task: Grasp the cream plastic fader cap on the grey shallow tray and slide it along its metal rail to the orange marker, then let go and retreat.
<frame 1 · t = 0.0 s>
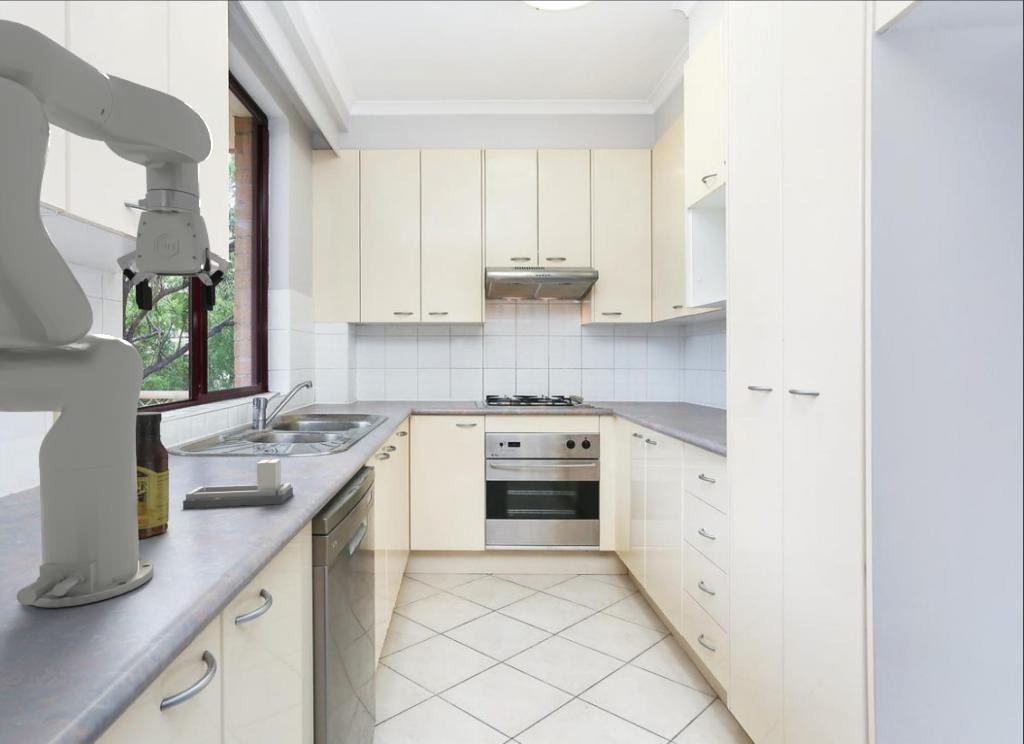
hand: (176, 310, 90), 37 cm above the table, tool pointing down, fingers open, 9 cm apart
sauce bottle: (147, 535, 88), on the table
fader cap: (269, 475, 108), point 5 cm above the table, slide at -5.5 cm
grey shallow tray: (240, 500, 108), on the table
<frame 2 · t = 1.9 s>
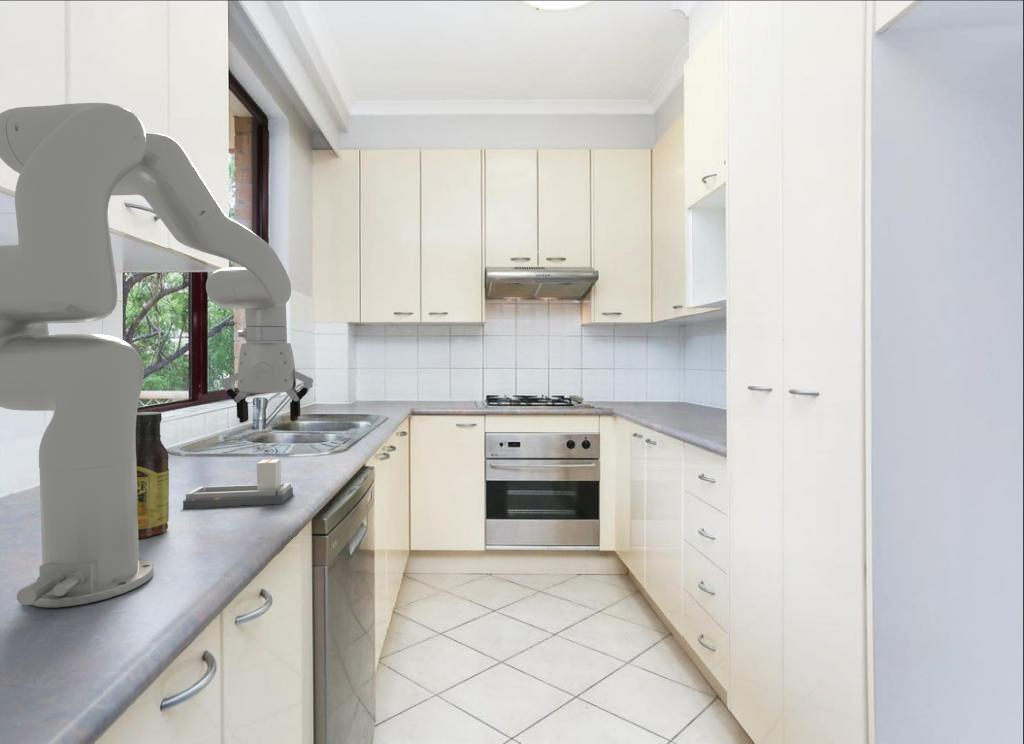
hand: (269, 421, 108), 16 cm above the table, tool pointing down, fingers open, 9 cm apart
nothing on the table moved.
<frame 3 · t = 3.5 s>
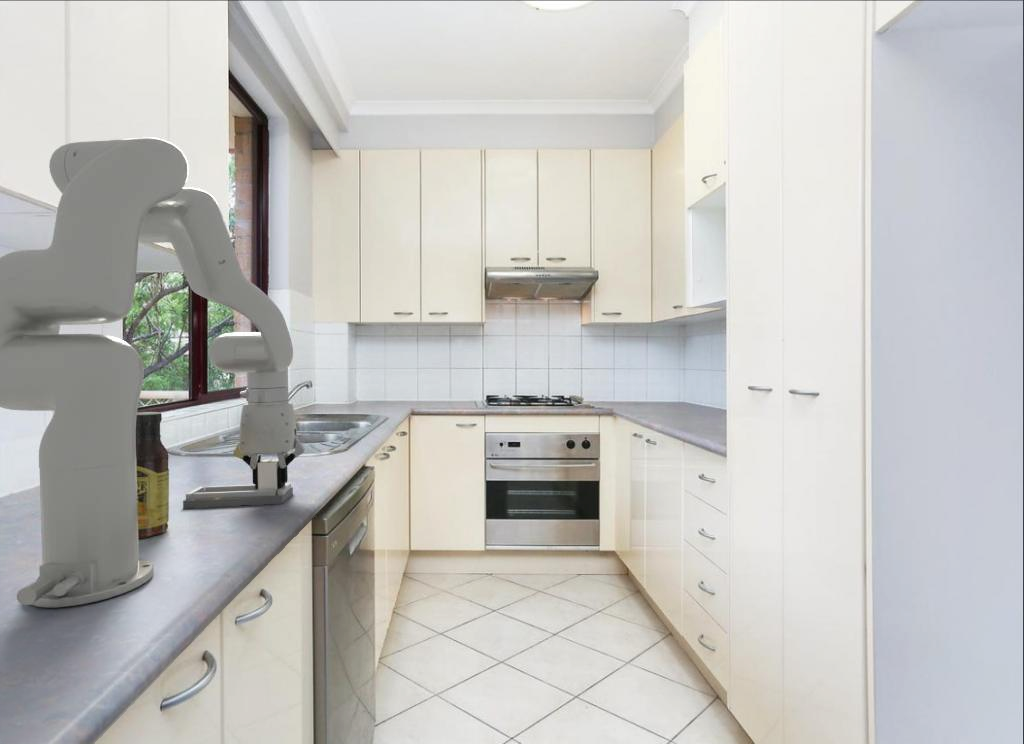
hand: (270, 486, 109), 3 cm above the table, tool pointing down, fingers closed on fader cap, 3 cm apart
fader cap: (269, 475, 108), point 5 cm above the table, slide at -5.7 cm, touching gripper
everything else where it was.
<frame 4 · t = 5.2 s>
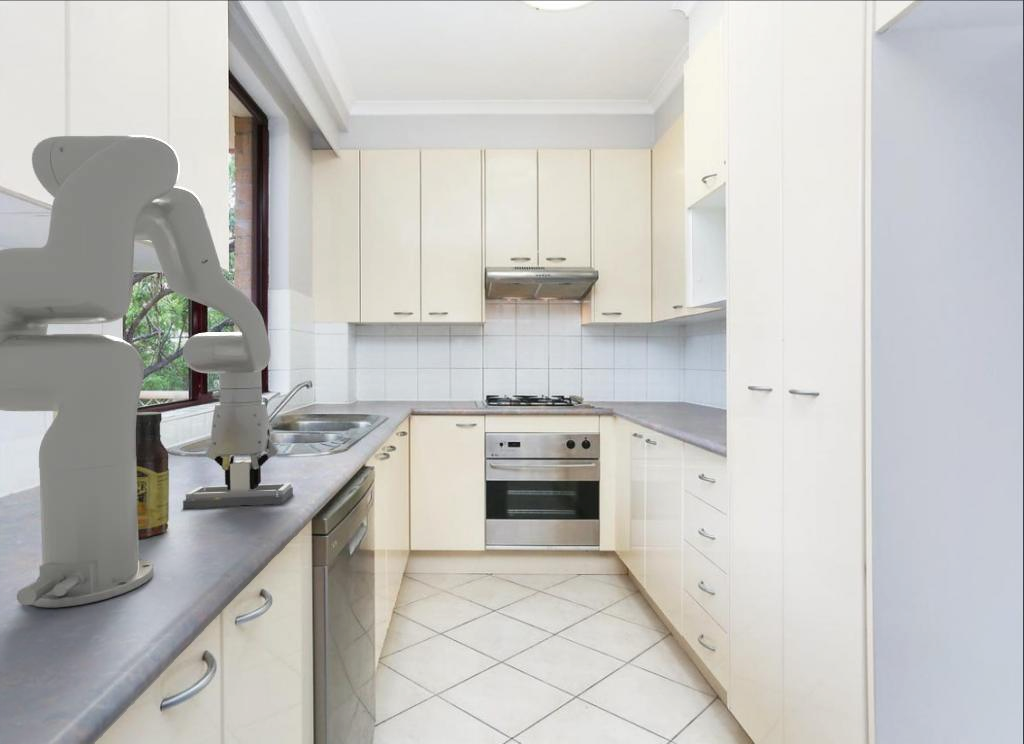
hand: (243, 487, 108), 3 cm above the table, tool pointing down, fingers closed on fader cap, 3 cm apart
fader cap: (242, 476, 108), point 5 cm above the table, slide at -0.5 cm, touching gripper
everything else where it was.
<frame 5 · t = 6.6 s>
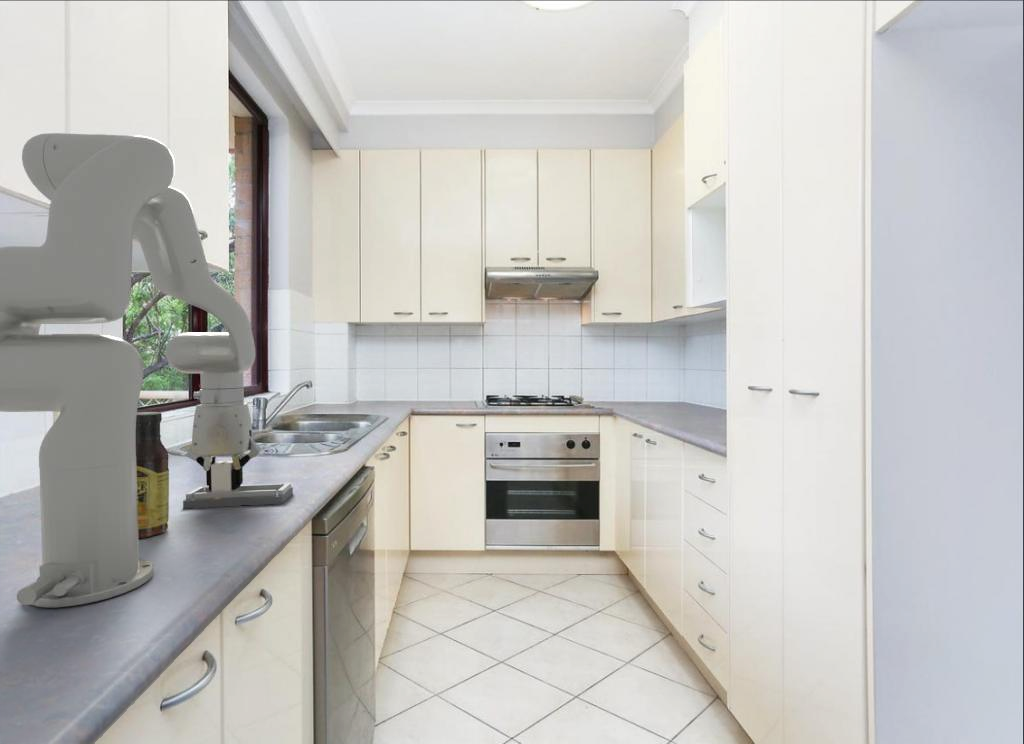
hand: (225, 487, 107), 3 cm above the table, tool pointing down, fingers closed on fader cap, 3 cm apart
fader cap: (224, 477, 107), point 5 cm above the table, slide at 3.0 cm, touching gripper
everything else where it was.
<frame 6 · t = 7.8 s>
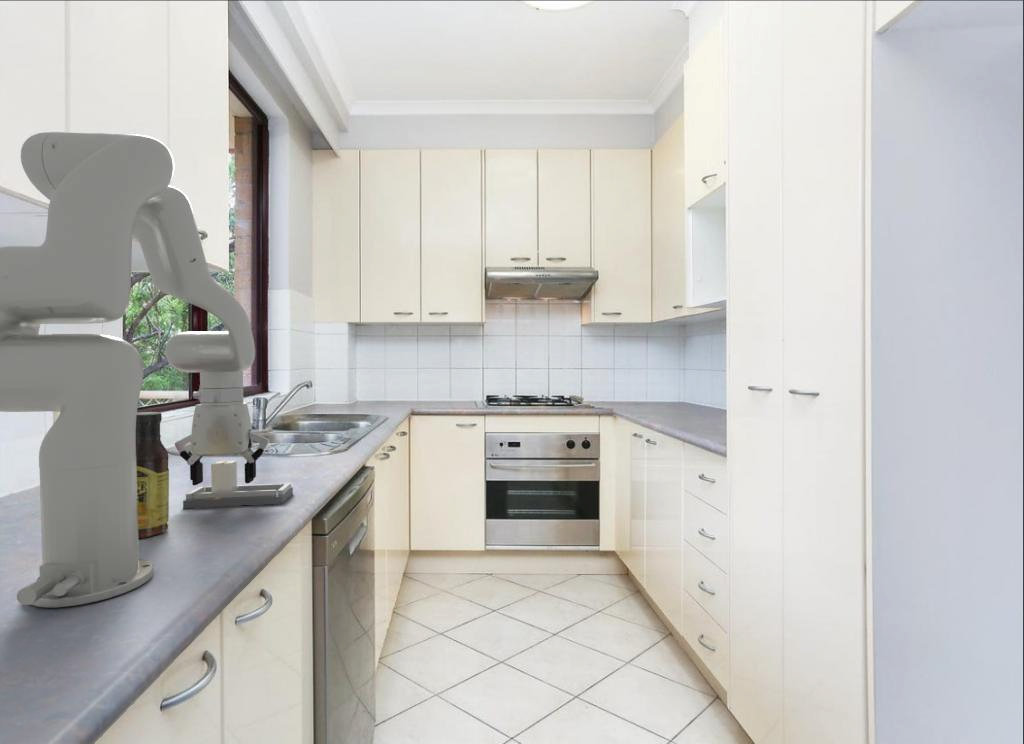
hand: (223, 482, 107), 4 cm above the table, tool pointing down, fingers open, 9 cm apart
fader cap: (224, 477, 107), point 5 cm above the table, slide at 3.0 cm
everything else where it was.
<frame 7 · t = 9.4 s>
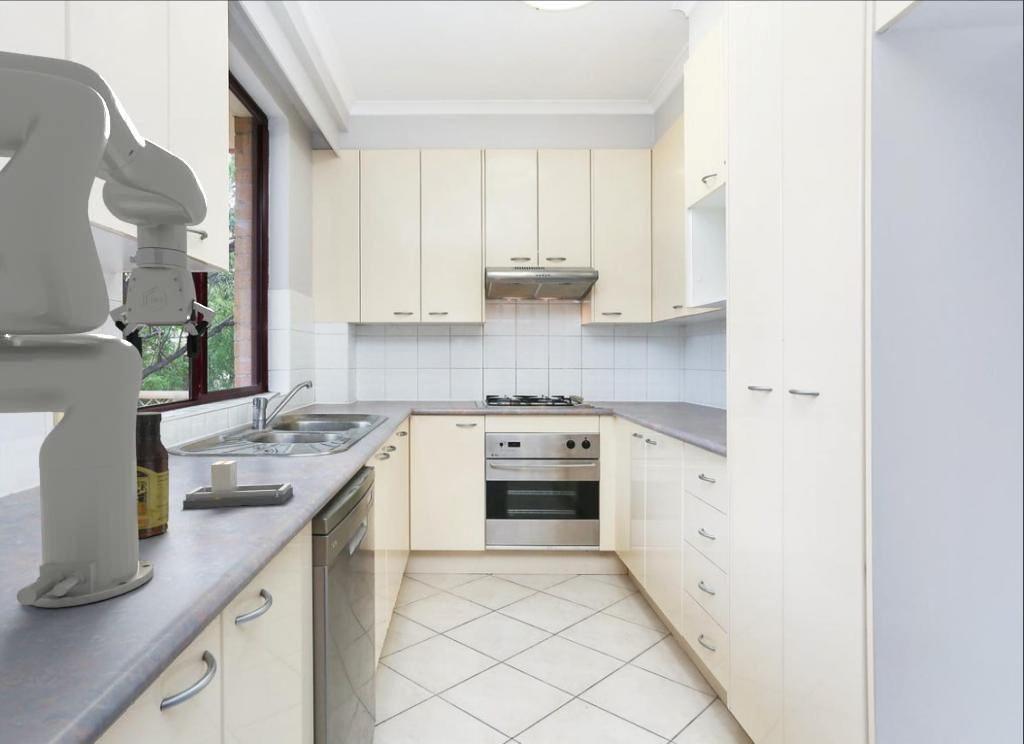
hand: (164, 358, 96), 29 cm above the table, tool pointing down, fingers open, 9 cm apart
nothing on the table moved.
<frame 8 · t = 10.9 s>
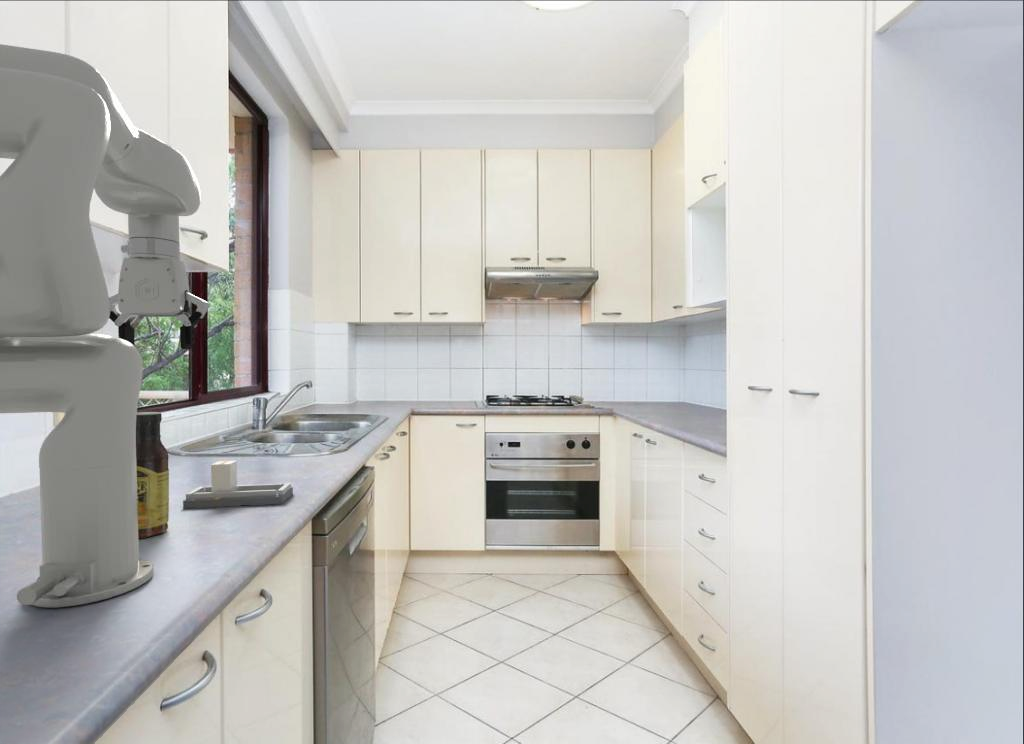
hand: (157, 349, 95), 30 cm above the table, tool pointing down, fingers open, 9 cm apart
nothing on the table moved.
at the end: fader cap slide at 3.0 cm; the gripper is holding nothing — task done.
